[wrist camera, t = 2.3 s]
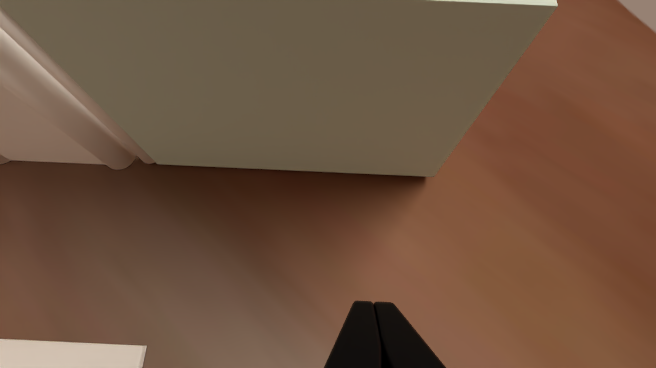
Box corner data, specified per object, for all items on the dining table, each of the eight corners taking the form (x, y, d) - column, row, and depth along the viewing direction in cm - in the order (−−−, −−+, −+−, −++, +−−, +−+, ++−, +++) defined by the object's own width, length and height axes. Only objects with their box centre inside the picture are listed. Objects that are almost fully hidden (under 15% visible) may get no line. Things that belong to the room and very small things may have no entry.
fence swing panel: (138, 163, 21) (-66, -22, 10) (143, 144, 22) (-47, -52, 10) (433, 176, 21) (558, 5, 10) (432, 158, 22) (549, -26, 10)
